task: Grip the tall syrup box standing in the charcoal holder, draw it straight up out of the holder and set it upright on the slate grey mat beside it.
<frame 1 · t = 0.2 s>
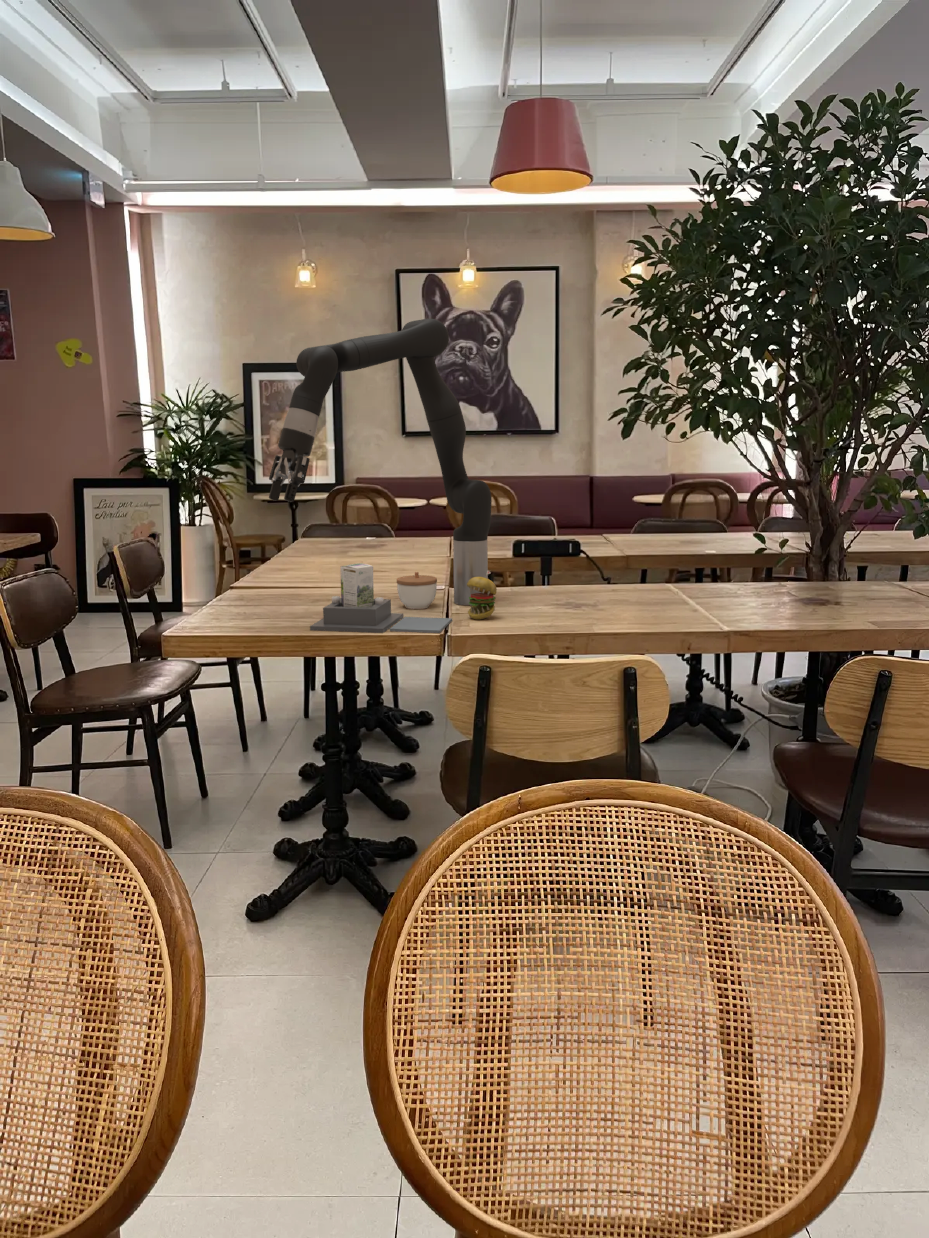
hand: (280, 500, 206), 31 cm above the table, tool tilted 20°, fingers open, 8 cm apart
syrup box: (358, 624, 221), resting in holder
lidded jar: (417, 607, 241), on the table
holder: (358, 623, 221), on the table
hamburger: (481, 618, 226), on the table
mat: (421, 625, 217), on the table
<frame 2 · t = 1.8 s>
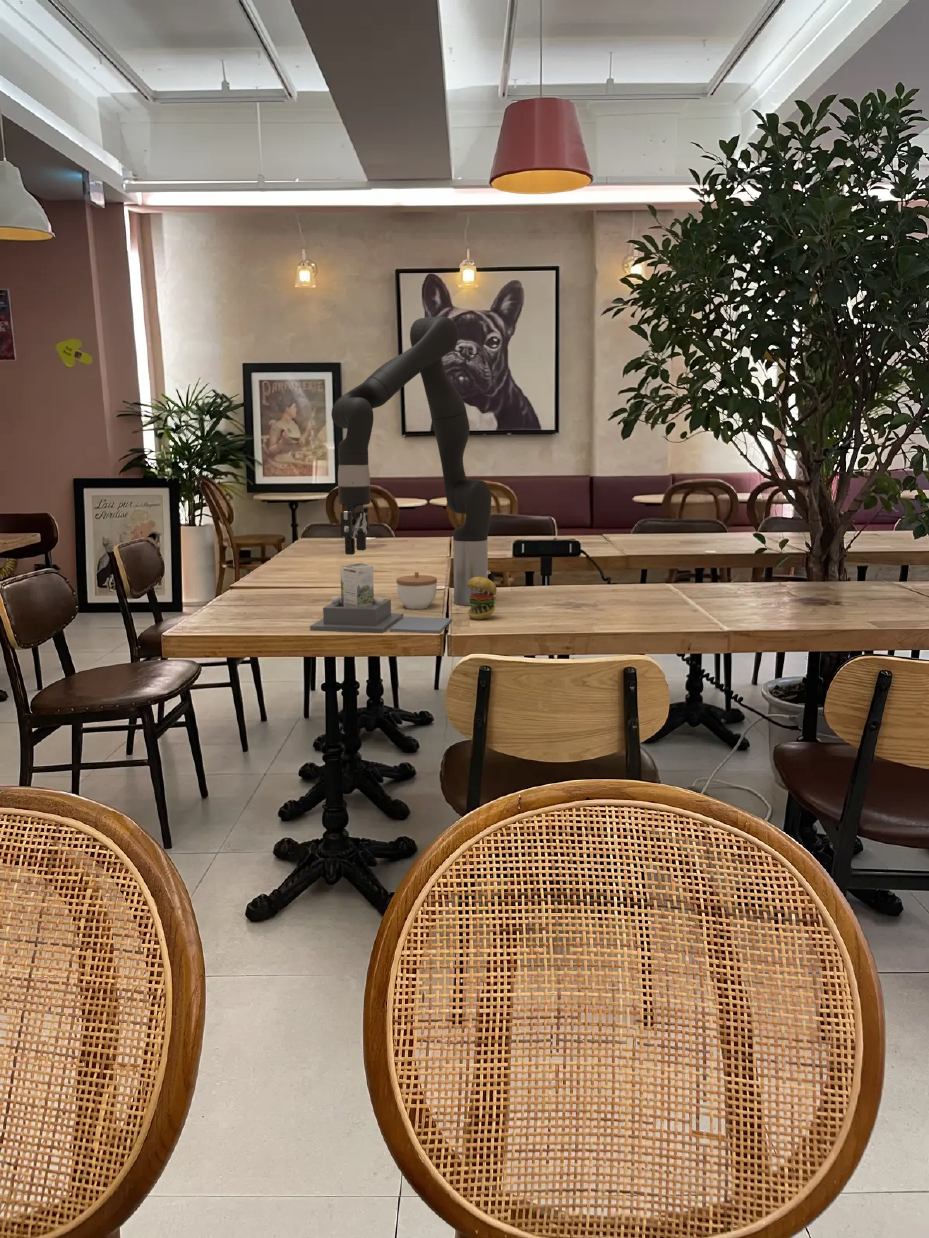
hand: (355, 552, 217), 18 cm above the table, tool pointing down, fingers open, 8 cm apart
nothing on the table moved.
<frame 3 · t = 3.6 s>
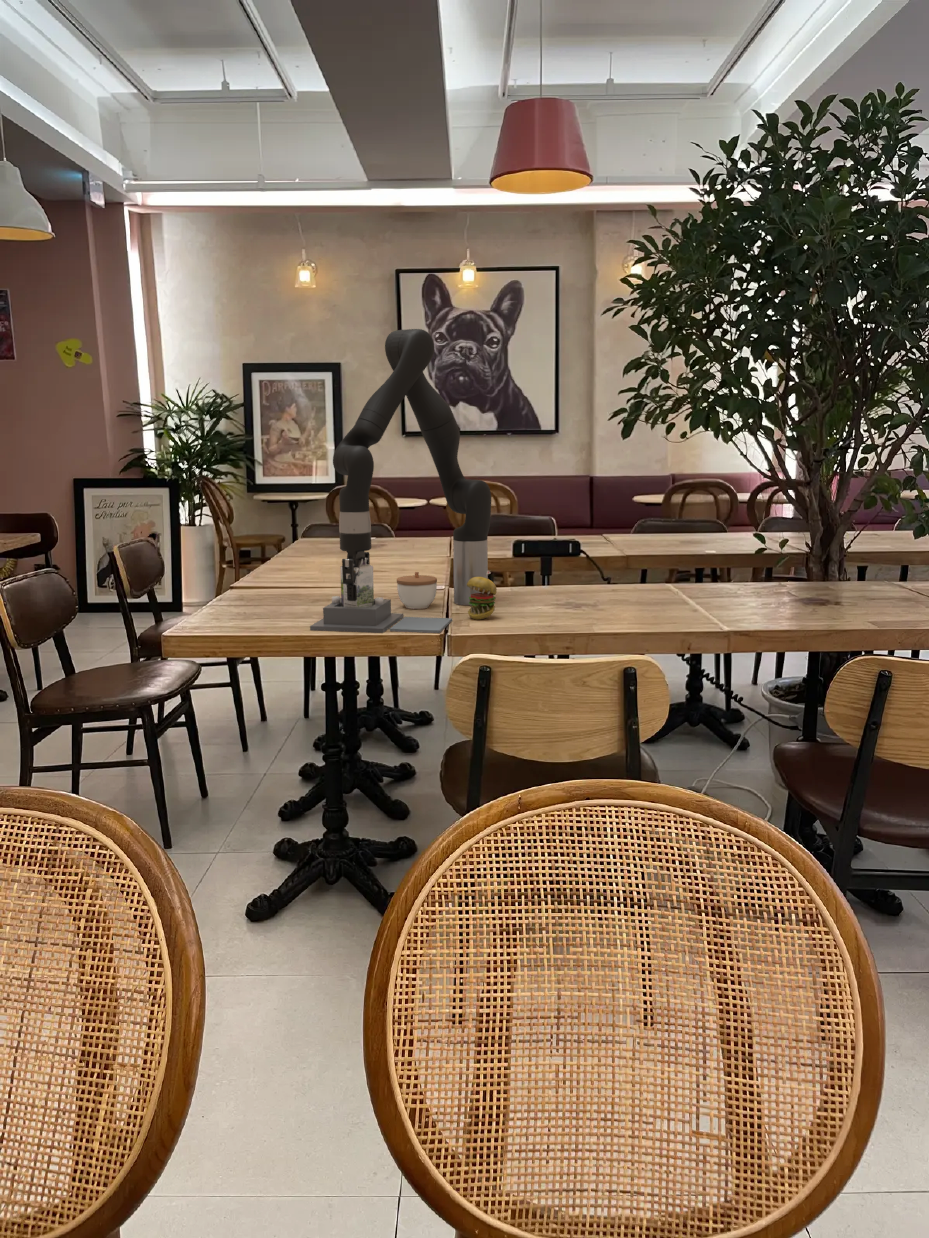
hand: (357, 597, 219), 6 cm above the table, tool pointing down, fingers closed on syrup box, 7 cm apart
syrup box: (358, 624, 221), resting in holder, touching gripper
everything else where it was.
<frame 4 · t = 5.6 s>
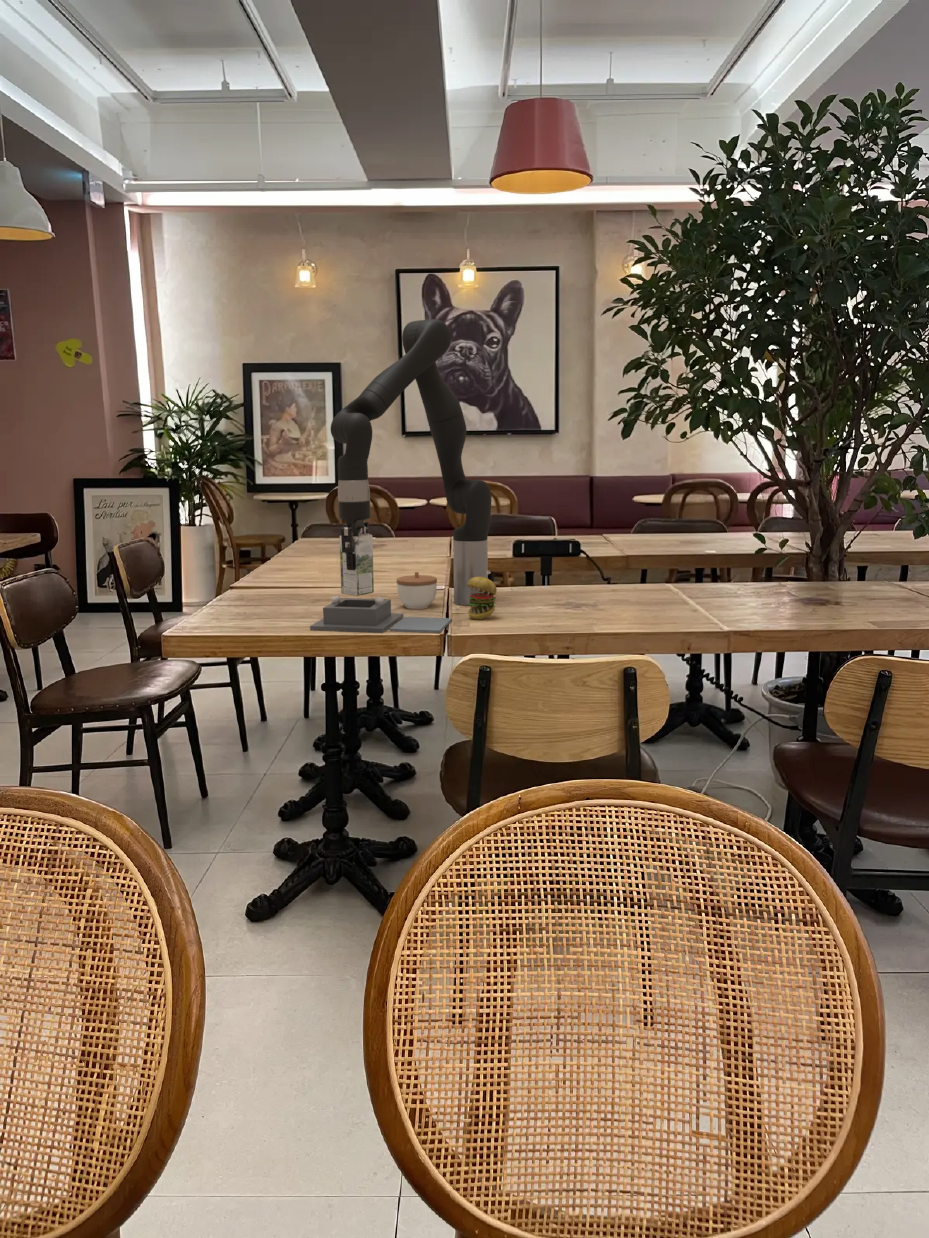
hand: (356, 567, 218), 14 cm above the table, tool pointing down, fingers closed on syrup box, 7 cm apart
syrup box: (358, 594, 219), point 7 cm above the table, touching gripper
everything else where it was.
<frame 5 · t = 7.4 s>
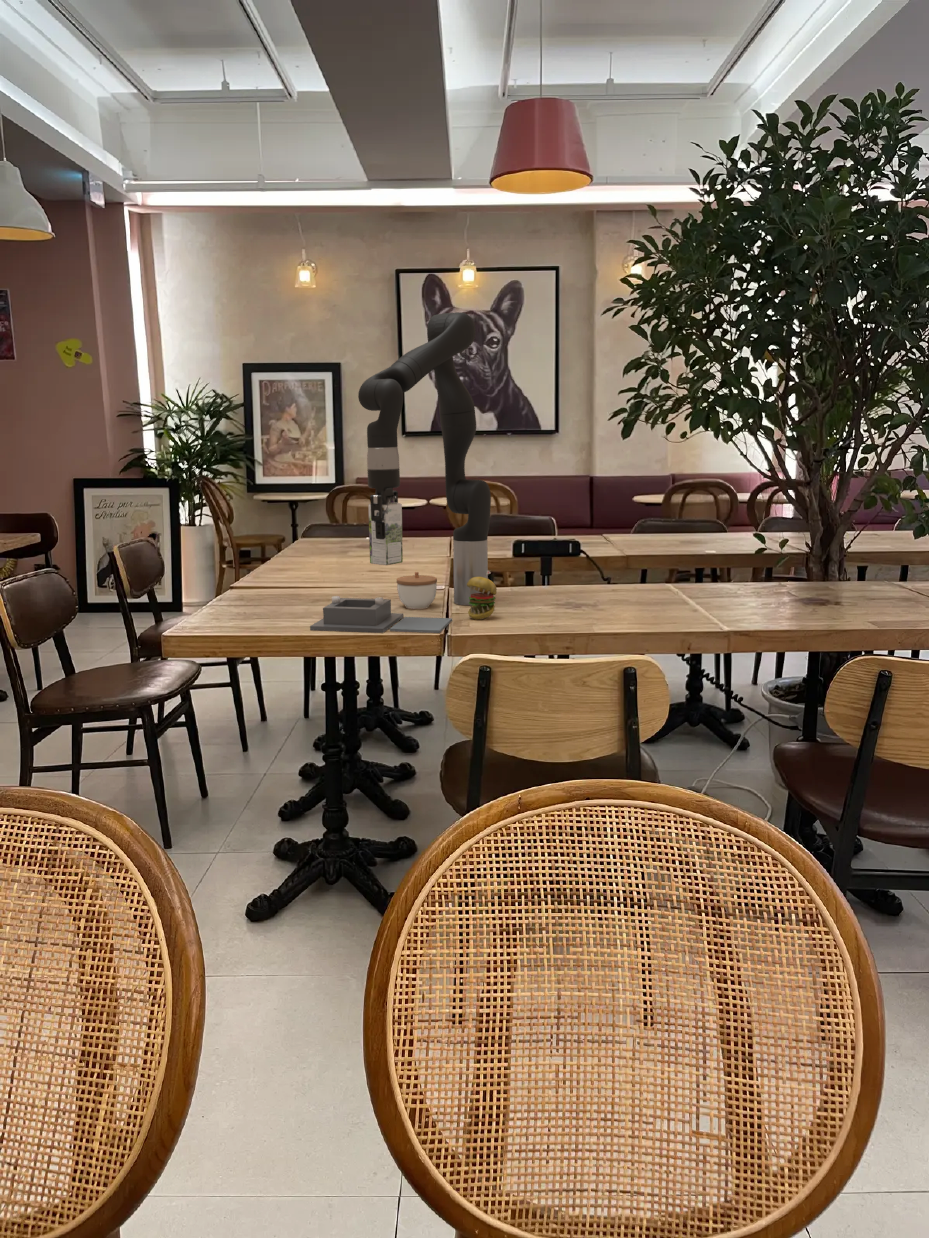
hand: (385, 536, 215), 21 cm above the table, tool pointing down, fingers closed on syrup box, 7 cm apart
syrup box: (386, 564, 217), point 15 cm above the table, touching gripper
everything else where it was.
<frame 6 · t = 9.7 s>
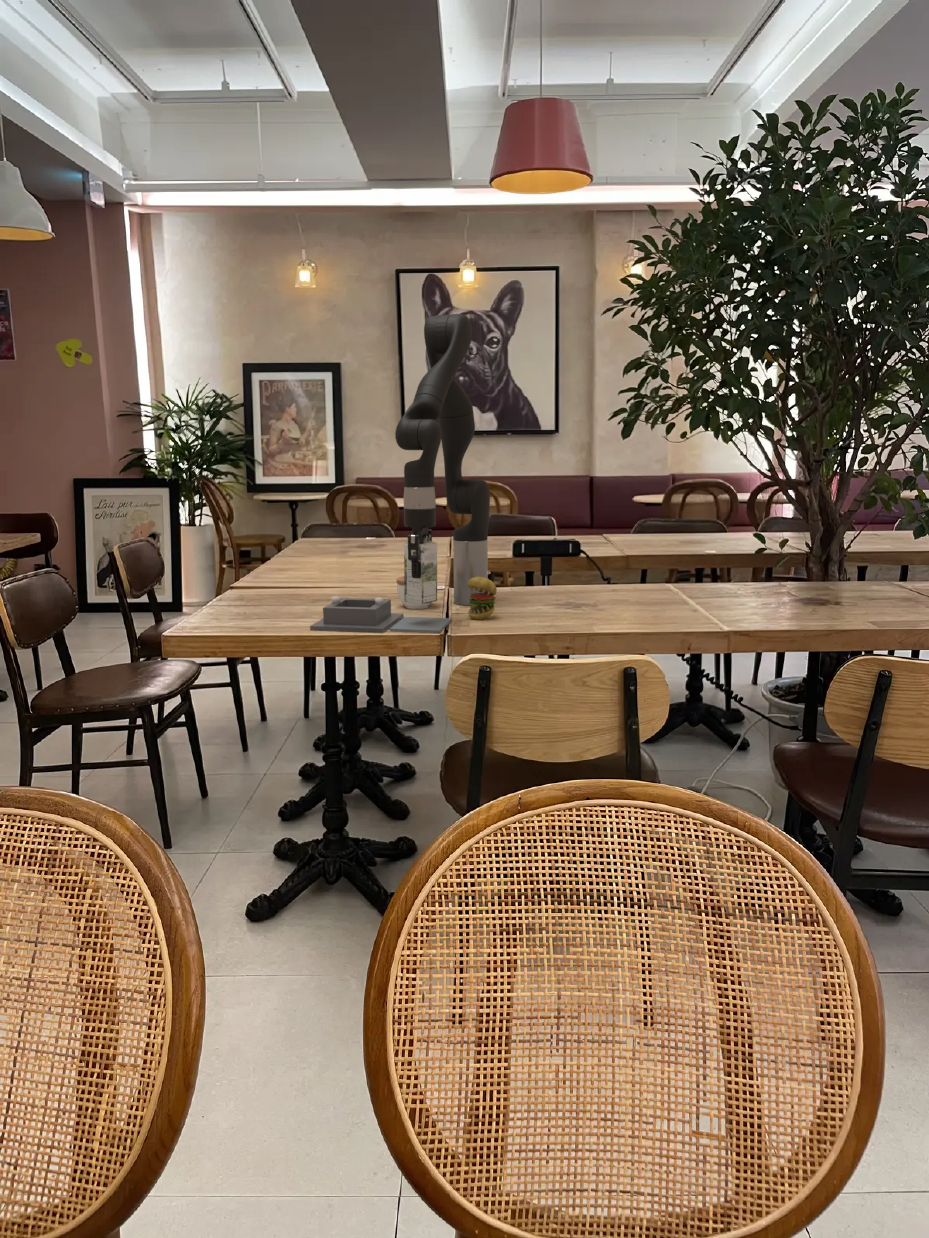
hand: (420, 575, 215), 12 cm above the table, tool pointing down, fingers closed on syrup box, 7 cm apart
syrup box: (421, 602, 216), point 6 cm above the table, touching gripper
everything else where it was.
when the fingers open (8 cm above the table, at t = 11.6 s): syrup box drops 1 cm, resting on mat.
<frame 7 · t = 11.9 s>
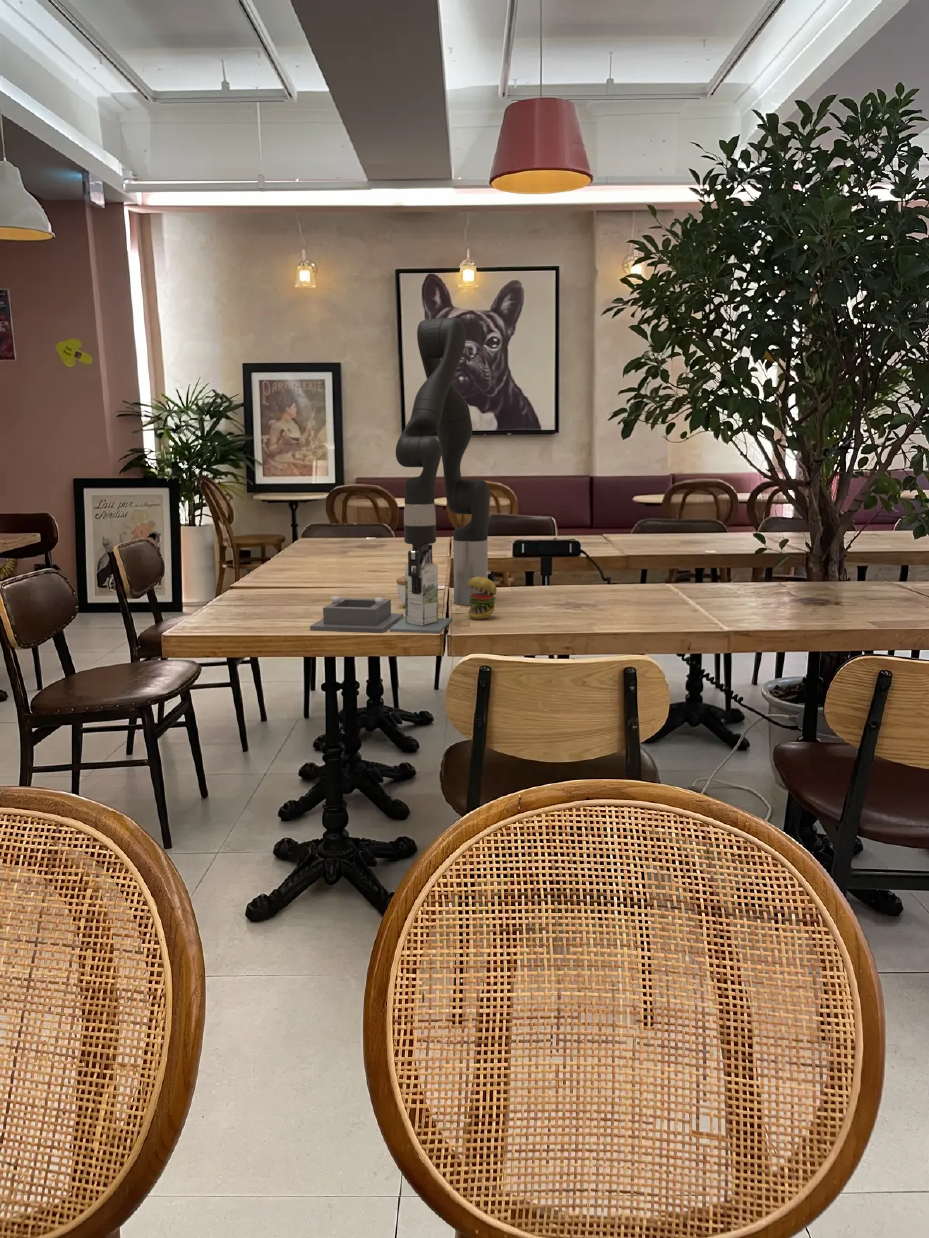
hand: (421, 590, 216), 9 cm above the table, tool pointing down, fingers open, 8 cm apart
syrup box: (422, 624, 218), resting on mat
everything else where it was.
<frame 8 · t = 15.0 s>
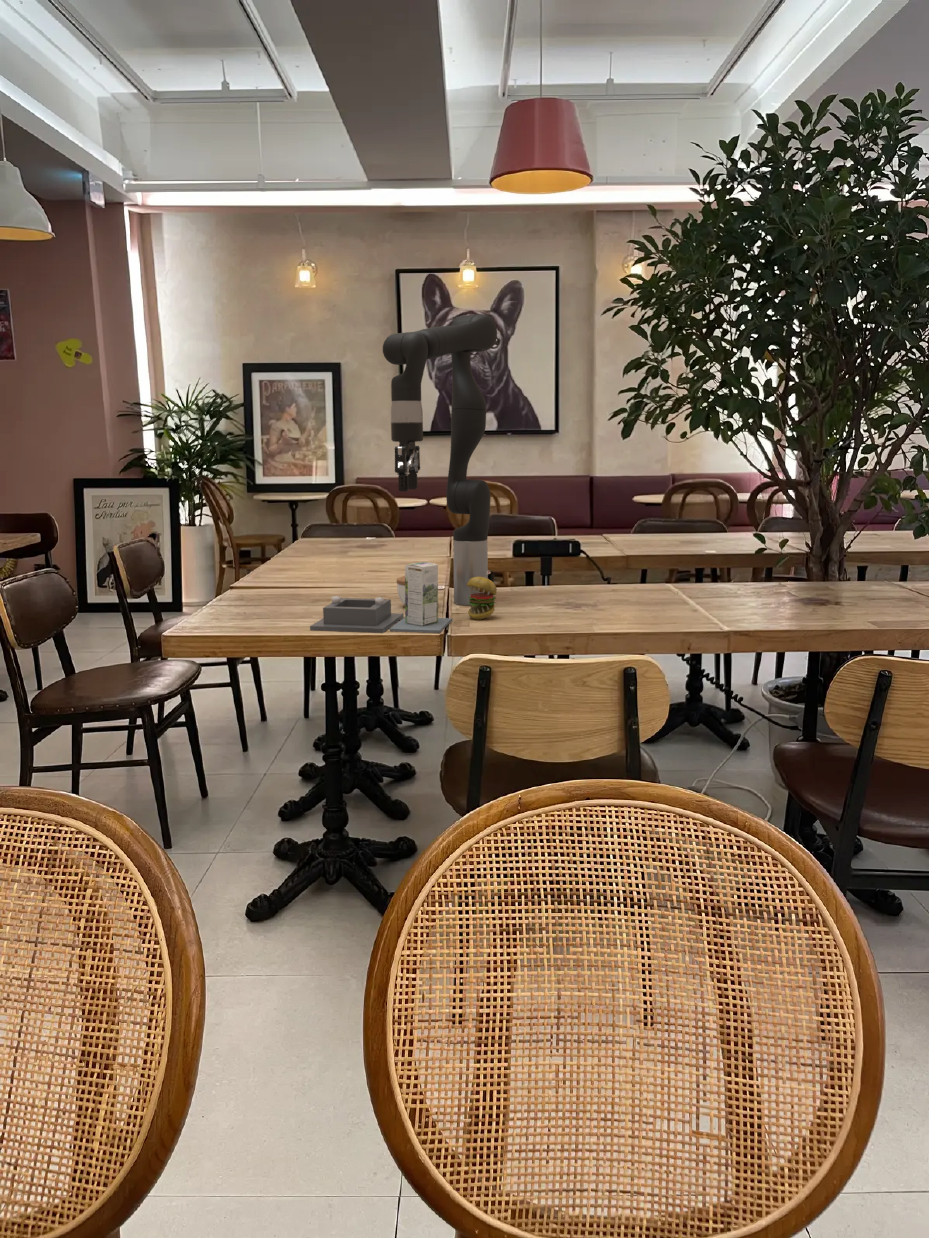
hand: (408, 490, 216), 32 cm above the table, tool pointing down, fingers open, 8 cm apart
nothing on the table moved.
at the end: syrup box inside the target area on the mat (0.2 cm from its centre), point 0.4 cm above the mat's base; syrup box tilted 0°; the gripper is holding nothing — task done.
